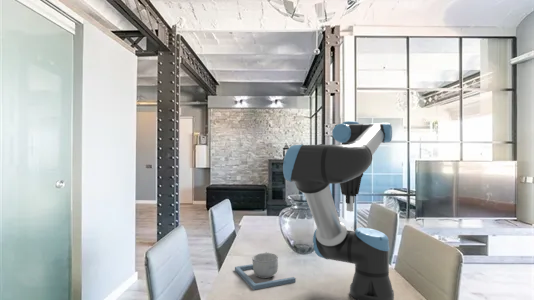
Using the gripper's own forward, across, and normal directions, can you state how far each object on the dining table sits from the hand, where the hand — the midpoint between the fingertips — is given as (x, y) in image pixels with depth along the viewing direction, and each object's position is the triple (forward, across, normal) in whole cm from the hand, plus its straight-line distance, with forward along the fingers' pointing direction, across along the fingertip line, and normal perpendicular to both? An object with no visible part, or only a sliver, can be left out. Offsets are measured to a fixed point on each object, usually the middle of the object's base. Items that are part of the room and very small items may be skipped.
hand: (349, 210), depth 139 cm
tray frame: (+26, +36, -10) cm, 46 cm away
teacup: (+27, +35, -12) cm, 45 cm away
